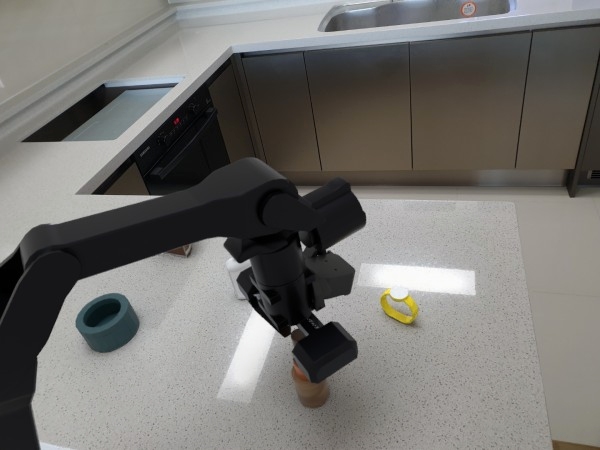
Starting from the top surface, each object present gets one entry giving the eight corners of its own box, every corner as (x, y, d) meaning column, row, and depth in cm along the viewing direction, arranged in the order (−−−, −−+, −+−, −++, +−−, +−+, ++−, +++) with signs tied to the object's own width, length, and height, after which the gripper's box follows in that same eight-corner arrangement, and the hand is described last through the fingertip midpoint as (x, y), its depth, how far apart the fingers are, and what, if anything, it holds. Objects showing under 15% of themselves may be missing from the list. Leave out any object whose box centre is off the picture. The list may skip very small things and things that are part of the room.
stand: (312, 414, 62) (306, 391, 59) (291, 394, 65) (284, 372, 62) (335, 392, 64) (330, 369, 61) (314, 374, 67) (308, 351, 64)
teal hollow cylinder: (99, 361, 76) (86, 342, 73) (81, 333, 82) (68, 315, 79) (147, 328, 80) (136, 309, 77) (126, 304, 86) (115, 285, 83)
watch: (378, 315, 74) (375, 290, 70) (387, 304, 75) (385, 278, 72) (412, 331, 70) (411, 305, 67) (421, 319, 72) (420, 293, 68)
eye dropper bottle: (263, 300, 81) (247, 249, 74) (233, 300, 82) (214, 250, 75) (268, 282, 84) (253, 232, 77) (239, 282, 86) (222, 233, 78)
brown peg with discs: (307, 385, 60) (297, 349, 55) (291, 371, 62) (280, 335, 57) (324, 369, 61) (316, 333, 57) (308, 356, 63) (299, 320, 59)
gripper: (393, 278, 46) (399, 370, 55) (297, 201, 60) (315, 286, 69) (300, 335, 42) (323, 424, 52) (220, 240, 56) (250, 323, 65)
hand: (303, 355), depth 60 cm, fingers open, 8 cm apart
